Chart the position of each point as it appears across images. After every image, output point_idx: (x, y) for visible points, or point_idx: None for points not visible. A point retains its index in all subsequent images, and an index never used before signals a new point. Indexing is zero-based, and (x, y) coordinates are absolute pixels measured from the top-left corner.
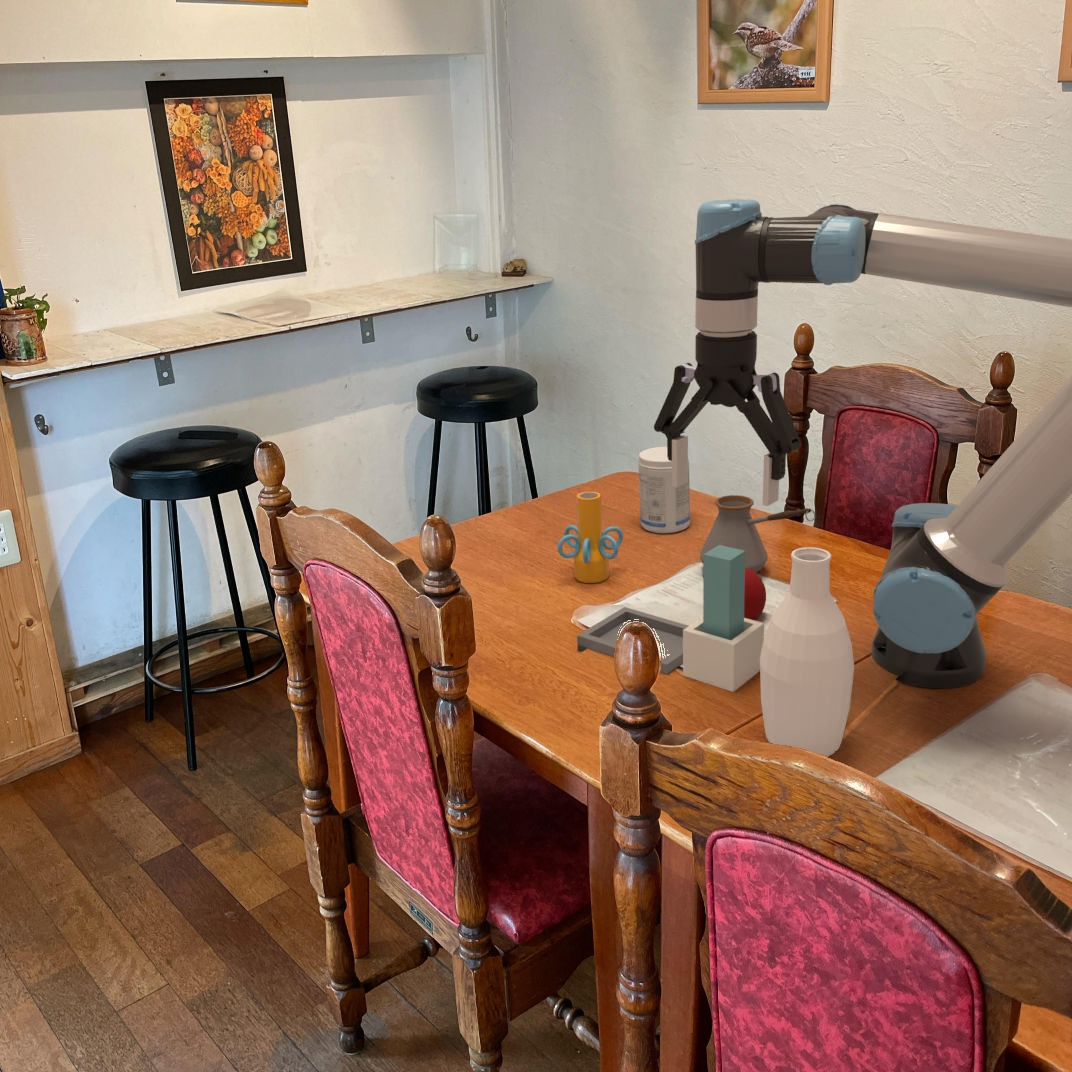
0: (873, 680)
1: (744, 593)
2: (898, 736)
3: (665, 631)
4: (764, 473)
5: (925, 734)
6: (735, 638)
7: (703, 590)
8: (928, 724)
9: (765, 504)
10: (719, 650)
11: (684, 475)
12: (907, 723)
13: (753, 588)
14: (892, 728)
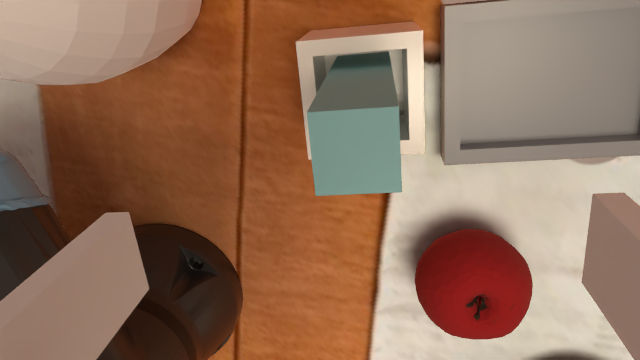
0: (190, 209)
1: (437, 269)
2: (74, 94)
3: (539, 139)
4: (31, 298)
5: (56, 122)
6: (311, 68)
7: (394, 83)
8: (70, 147)
9: (114, 215)
10: (331, 36)
11: (603, 281)
12: (88, 133)
13: (429, 288)
14: (92, 108)
